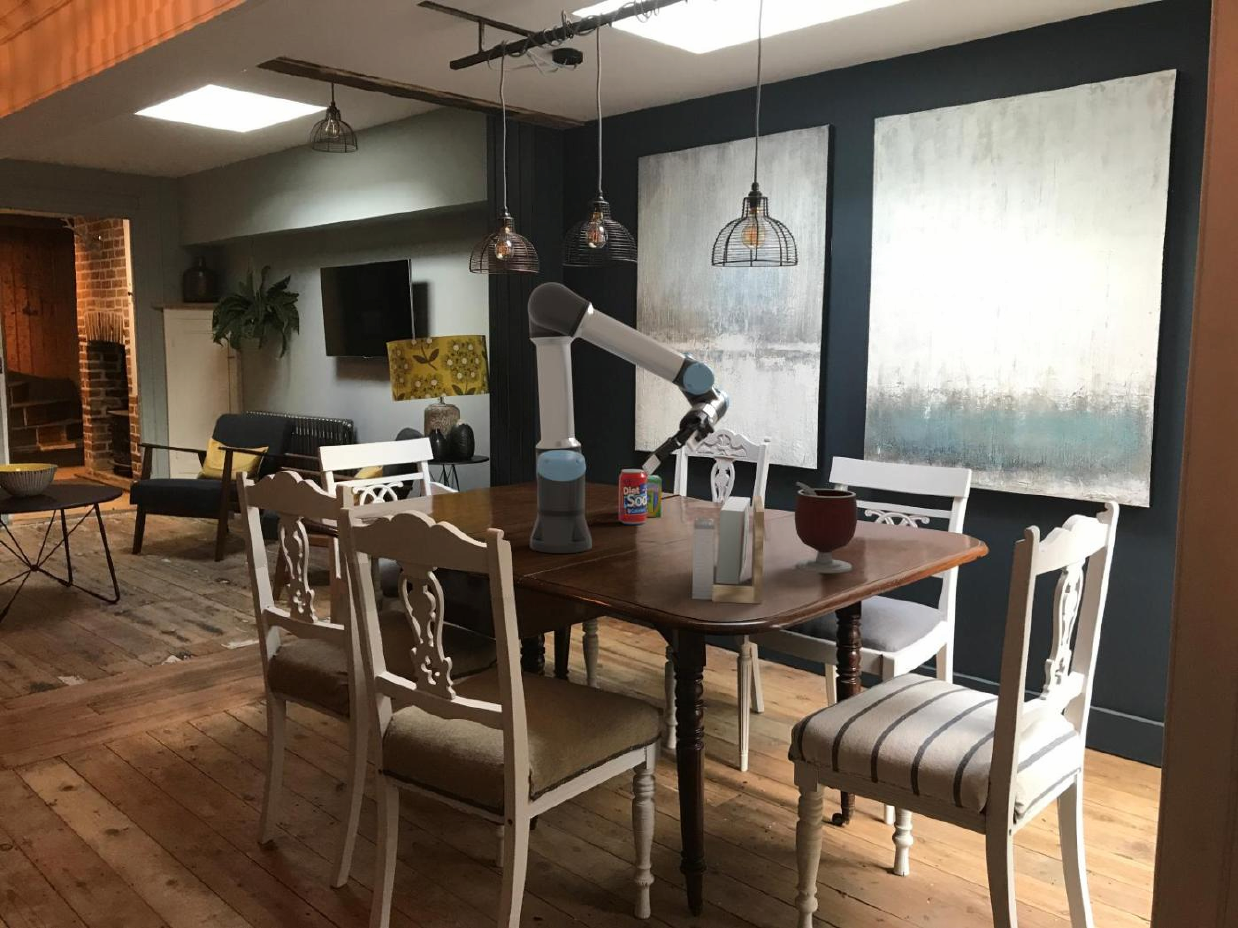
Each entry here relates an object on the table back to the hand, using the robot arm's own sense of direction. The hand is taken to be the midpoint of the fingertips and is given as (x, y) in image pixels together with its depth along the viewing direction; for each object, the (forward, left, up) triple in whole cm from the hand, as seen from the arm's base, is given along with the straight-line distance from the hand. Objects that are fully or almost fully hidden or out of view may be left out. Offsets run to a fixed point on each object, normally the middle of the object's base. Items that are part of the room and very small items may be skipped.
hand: (667, 459), depth 233 cm
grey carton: (+10, -35, -23) cm, 43 cm away
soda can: (-12, +45, -24) cm, 52 cm away
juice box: (-10, +59, -24) cm, 64 cm away
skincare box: (+16, -15, -24) cm, 32 cm away
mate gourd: (+36, -5, -24) cm, 43 cm away
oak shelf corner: (+16, -29, -23) cm, 40 cm away
